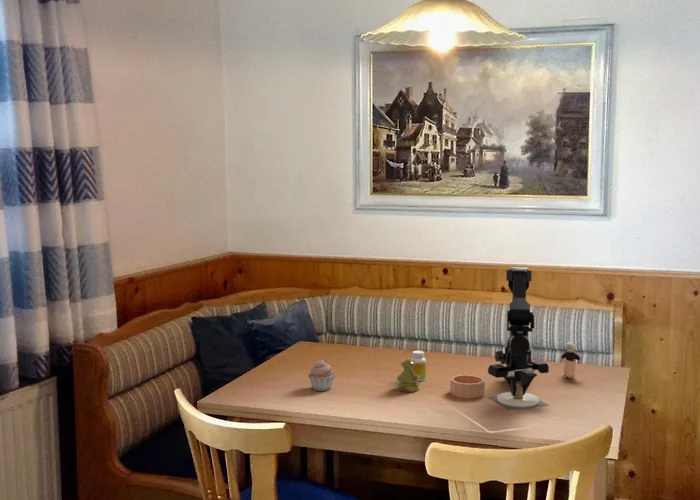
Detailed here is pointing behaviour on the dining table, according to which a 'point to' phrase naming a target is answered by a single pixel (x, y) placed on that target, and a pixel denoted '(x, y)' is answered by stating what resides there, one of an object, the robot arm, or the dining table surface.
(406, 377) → the olive green figurine
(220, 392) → the dining table surface
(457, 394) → the bowl
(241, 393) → the dining table surface
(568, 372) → the grandmother figurine
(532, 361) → the robot arm
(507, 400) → the lid
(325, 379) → the cupcake
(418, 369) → the supplement bottle
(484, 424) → the dining table surface
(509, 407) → the mat
